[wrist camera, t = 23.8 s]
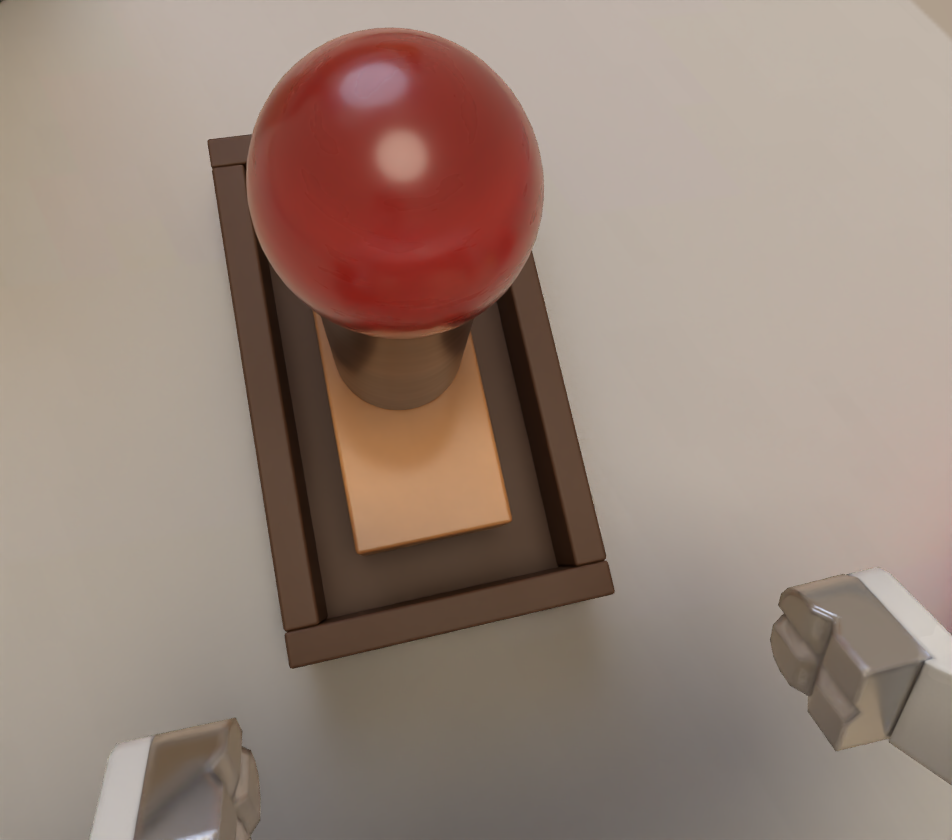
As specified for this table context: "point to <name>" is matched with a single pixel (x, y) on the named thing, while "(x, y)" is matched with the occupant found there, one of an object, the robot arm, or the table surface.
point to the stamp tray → (321, 484)
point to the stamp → (400, 262)
